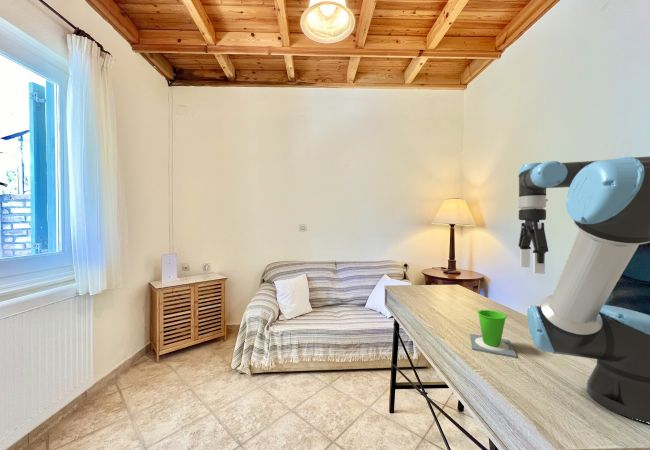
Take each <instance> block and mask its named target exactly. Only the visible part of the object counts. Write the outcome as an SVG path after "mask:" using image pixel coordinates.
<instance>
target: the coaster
mask: <svg viewBox="0 0 650 450" xmlns="http://www.w3.org/2000/svg"><path fill="white" fill-rule="evenodd" d="M469 336H470V337H469V338H470V344H471V349H472V350H473V351H478V352H484V353H487V354H488V353H489V354H493V355H500V356H505V357H510V358H515V359H517V358H518V356H517V353H516V351H515V350H514V349H515V348H514V347H513V344H512V343H511V340H510V339H506V338H501V342H500V345H499V346H498V347H492V346H488V345H486V344H485V343H484V342H483V338H482V334H481V335H480V334H474V333H469Z"/></svg>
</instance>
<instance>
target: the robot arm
mask: <svg viewBox="0 0 650 450" xmlns="http://www.w3.org/2000/svg"><path fill="white" fill-rule="evenodd" d="M517 177H518V209H519V210H518V220H519V221H524V222H521V227H520V234H519V239H518V240H519V241H518V248H519V249H520V259H519V261H520V268H531V250H532V247H531V246H530V245H531V244H532V245H533V251H532V253H533V274H545V273H546V270H545V269H546V253H548V252H549V246H548V242H547V236H546V231H545V222H540V221H545V220H547V210H546V209H545V208H546V207H547V202H548V201H549V199H548V198H547V189H553V188H554V189H555V188H557V189H558V188H568V190H567V195H566V197H567V198H568V199H567V200H566V210H567V213H568V215H569V217H570V218H571V219H572V220H573V224H574V226H575V227H577V229H579V230H578V233H577V235H576V238H575V239H574V243H573V245H572V247H571V250H570V253H569V254H568V257H567V260H566V261H565V264H564V267H563V270H562V271H561V274H560V277H559V279H558V282H557V285H556V287H555V289H554V291H553V294H552V295H551V294H550V295H549V296H547V297H545V298H543V300H542V301H541V303H540V305H538V306H537V305H535V304H534V305H529V306H528V307H527V311H526V316H527V318H526V319H527V324H528V330H529V334H530V337H531V340H532V342H533V345H534V346H535V348H537V349H538V350H539V351H542V352H546V353H552V354H554V355H555V354H557V355H564V356H569V357H571V356H572V357H579V358H584V359H585V358H587V359H592V360H593V359H594V360H596V365H595V366H594V369H593V370H592V372H591V374H590V376H589V378H588V379H587V382H586V392H587V394H588V395H589V396H590V397H591V398H592V399H593V400H594V401H595V402H597V403H598V404H599V405H601V406H602V407H605V408H606V409H607V410H610V411H612V412H614V413H615V414H618V413H619V414H618V415H620V414H622V415H624V416H623V417H625V416H627V417H630V418H633V419H638V420H641V421H644V422H649V423H650V314H646V313H643V312H641V311H640V312H639V311H636V310H632V309H629V308H623V307H620V306H614V305H606V302H607V300H608V298H609V297H610V295H611V293H612V292H613V290H614V288H615V287H616V285H617V282H618V281H619V280H620V278H621V277H622V275H623V272H624V271H625V270H626V268H627V266H629V265H628V264H629V263H630V261H631V260H632V258H633V256H634V254H635V253H636V251H637V249H638V247H639V246H640V245H644V244H645V245H646V244H648V243H650V156H638V157H637V156H635V157H634V156H633V157H632V156H622V157H621V156H620V157H616V158H612V159H601V160H600V159H599V160H588V161H570V162H567V161H566V162H561V161H557V160H549V161H545V162H530V163H526V164H522V165H521V166H520V167H519V170H518V176H517ZM622 415H621V416H622ZM627 417H626V418H627ZM630 418H629V419H630ZM633 419H632V420H633Z"/></svg>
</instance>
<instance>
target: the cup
mask: <svg viewBox="0 0 650 450" xmlns="http://www.w3.org/2000/svg"><path fill="white" fill-rule="evenodd" d="M476 313H477V314H478V319H479V324H480V331H481V335H482V338H483V342H484V343H485V344H486V345H488V346H492V347H498V346H499V345H500V342H501V339H502V336H503V331H504V328H505V322H506V319H507V318H508V316H507V315H506V314H505V313H503V312H500V311H497V310H493V309H480V310H478V311H477V312H476Z"/></svg>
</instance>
